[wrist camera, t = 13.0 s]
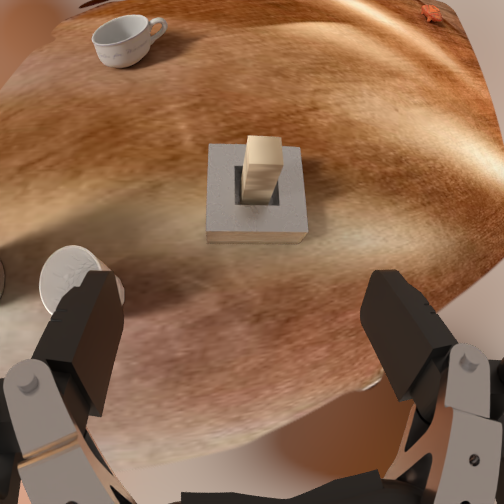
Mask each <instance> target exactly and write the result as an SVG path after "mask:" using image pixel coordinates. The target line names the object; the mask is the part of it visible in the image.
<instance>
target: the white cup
mask: <svg viewBox="0 0 504 504" xmlns="http://www.w3.org/2000/svg"><path fill="white" fill-rule="evenodd" d="M90 270H97V271H111V270H110V269H109V268H108V267H107V266H106V265H105V264H104V263H103V262H102V261H100V260H99V259H98V258H97V257H96V256H95V255H94V254H92V253H91V252H90V251H89V250H87V249H86V248H84V247H81V246H76V245H70V246H65V247H62V248H60V249H58V250H57V251H55V252H54V253H53V254H52V255H51V256H50V257H49V258H48V259H47V261H46V262H45V264H44V266H43V268H42V271H41V275H40V280H39V290H40V296H41V299H42V302H43V304H44V306H45V308H46V309H47V310H48V312H49V313H50V314H51V315H53V313H54V311H56V307H57V305H58V304H59V302H60V300H61V298H62V297H63V296H64V295H65V294H66V293H67V292H68V291H69V290H70V289H72V288H73V287H74V286H76V287H80V285H81V283H82V281H83V279H84V277H85V276H86V274H87V272H88V271H90ZM115 277H116V282H117V287H118V291H119V296H120V300H121V304H122V305H123V303H124V287H123V285H122V283H121V281H120V279H119V278H118V277H117V276H116V275H115Z"/></svg>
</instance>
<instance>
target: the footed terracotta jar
mask: <svg viewBox="0 0 504 504" xmlns="http://www.w3.org/2000/svg"><path fill="white" fill-rule="evenodd" d="M421 14H422V15H423V14H424V15H425V16H426V17H427V22H430V21H431V20H432V21H433V22H435V21H437V22H439V21H442V15H441V13H440V10H439V9H438V8H436V7H435V6H433V5H423V6H422V13H421Z"/></svg>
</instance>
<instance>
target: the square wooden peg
mask: <svg viewBox="0 0 504 504" xmlns="http://www.w3.org/2000/svg"><path fill="white" fill-rule="evenodd" d="M283 165H284V163H283V152H282V142H281V137H268V136H248V139H247V145H246V151H245V157H244V164H243V170H242V176H241V182H240V205H268V204H269V201H270V199H271V196H272V194H273V191H274V188H275V186H276V183H277V181H278V178H279V176H280V173H281V170H282V168H283Z"/></svg>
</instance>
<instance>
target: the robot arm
mask: <svg viewBox="0 0 504 504" xmlns="http://www.w3.org/2000/svg"><path fill="white" fill-rule="evenodd" d="M4 279H5V276H4V269H3V265H2V263H1V261H0V298H1V295H2V292H3V289H4ZM360 320H361V324H362V326H363V328H364V330H365V332H366V334H367V336H368V338H369V340H370V342H371V344H372V346H373V348H374V350H375V352H376V354H377V356H378V359H379V361H380V363H381V365H382V367H383V369H384V371H385V373H386V375H387V377H388V379H389V381H390V384H391V386H392V388H393V390H394V392H395V394H396V397H397V399H398V401H399V402H401V401H405V400H408V399H413V400H414V402H415V404H414V405H413V407H412V408H411V411H410V414H409V418H408V422H407V425H406V429H405V432H404V436H403V439H402V442H401V445H400V448H399V451H398V454H397V457H396V459H395V461H394V462H393V464H392V466H391V467H390V468H389V470H388V471H387V473H386V475H385V477H384V479H381V478H380V475H379V472H378V470H373V471H370V472H366V473H362V474H358V475H355V476H350V477H345V478H341V479H337V480H333V481H331V482H329V483H327V484H324V485H322V486H320V487H318V488H315V489H313V490H311V491H308V492H306V493H303V494H301V495H298V496H296V497H293V498H290V499H276V498H267V497H259V496H252V495H245V494H239V493H234V492H229V493H227V492H226V493H191V492H181V501H179V502H173V503H170V504H494V501H495V499H496V501H497V504H504V358H503V359H502V360H488V359H487V357H486V356H485V355H484V353H483V352H482V351H481V350H479V349H478V348H477V347H475V346H473V345H470V344H467V343H460V344H459V343H458V342H457V340H456V339H455V338H454V336H453V335H452V333H451V332H450V331H449V329H448V328H447V326H446V325H445V324H444V322H443V321H442V320H441V318H440V317H439V315H438V314H436V311H435V310H434V309H433V307H432V306H431V305H429V302H428V301H427V300H426V298H425V297H424V296H423V294H422V293H421V292H420V291H418V290H417V289H416V288H414V287H413V286H411V285H410V284H408V283H407V281H406V280H405V279H404V278H403V276H402V275H401V274H400V273H399V271H397V270H375V271H374V272H373V273H372V275H371V277H370V281H369V284H368V287H367V290H366V293H365V296H364V300H363V303H362V306H361V310H360ZM123 326H124V314H123V308H122V304H121V300H120V296H119V291H118V287H117V282H116V277H115V274H114V272H113V271H97V270H90V271H88V272H87V274H86V276H85V277H84V279H83V281H82V283H81V285H80V287H76V286H74V287H73V288H72V289H70V290H69V291H68V292H67V293H66V294H65V295H64V296H63V297H62V298H61V300H60V302H59V304H58V305H57V307H56V311H54V313H53V315H52V317H51V321H49V323H48V325H47V327H46V329H45V331H44V333H43V335H42V337H41V339H40V341H39V343H38V345H37V347H36V349H35V351H34V353H33V356H32V358H31V359H27V360H23V361H21V362H19V363H17V364H15V365H14V366H13V367H12V368H11V369H10V370H9V371H8V373H7V374H6V376H5V378H1V379H0V504H18V496H19V489H20V481H21V480H22V483H23V485H24V487H25V490H26V492H27V494H28V497H29V499H30V501H31V503H32V504H137V503H136V502H135V500H134V499H133V498H132V496H131V495H130V494H129V492H128V491H127V490H126V489H125V488H124V486H123V485H122V484H121V482H120V481H119V480H118V478H117V477H116V475H115V474H114V472H113V471H112V469H111V468H110V466H109V464H108V463H107V461H106V460H105V458H104V456H103V455H102V453H101V451H100V450H99V448H98V446H97V444H96V443H95V441H94V439H93V437H92V435H91V434H90V432H89V430H88V428H87V427H86V424H87V420H88V416H89V415H90V416H97V417H102V413H103V408H104V403H105V399H106V394H107V390H108V386H109V381H110V377H111V373H112V369H113V365H114V361H115V357H116V353H117V350H118V346H119V342H120V339H121V335H122V331H123Z"/></svg>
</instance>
